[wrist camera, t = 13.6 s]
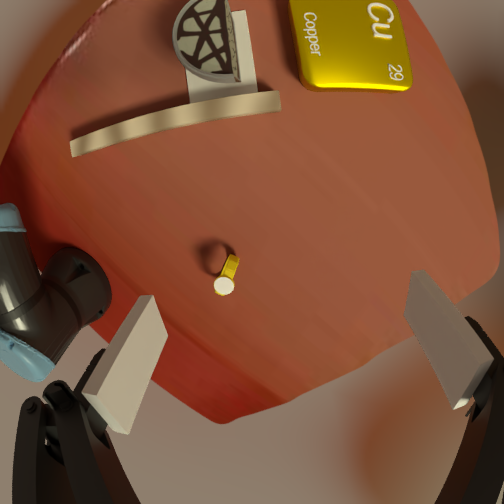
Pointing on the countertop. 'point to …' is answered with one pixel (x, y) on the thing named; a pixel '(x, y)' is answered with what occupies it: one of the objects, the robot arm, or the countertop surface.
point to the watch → (226, 276)
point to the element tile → (350, 46)
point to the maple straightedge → (178, 119)
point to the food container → (207, 41)
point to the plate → (248, 84)
